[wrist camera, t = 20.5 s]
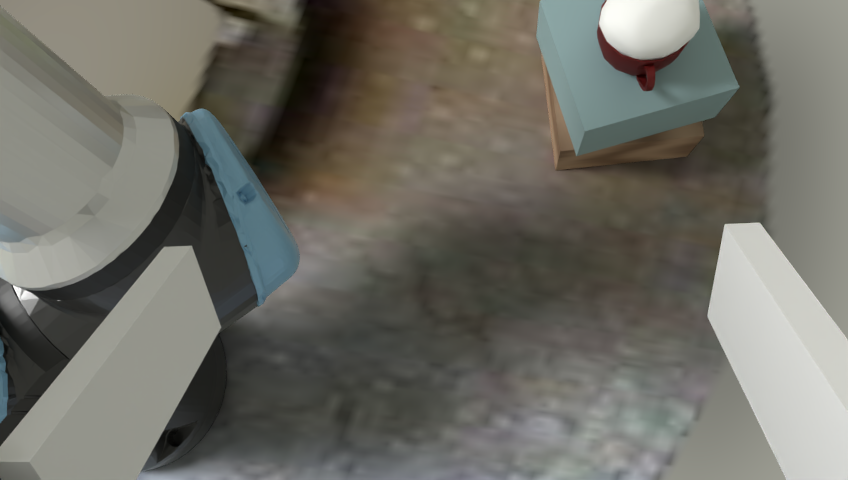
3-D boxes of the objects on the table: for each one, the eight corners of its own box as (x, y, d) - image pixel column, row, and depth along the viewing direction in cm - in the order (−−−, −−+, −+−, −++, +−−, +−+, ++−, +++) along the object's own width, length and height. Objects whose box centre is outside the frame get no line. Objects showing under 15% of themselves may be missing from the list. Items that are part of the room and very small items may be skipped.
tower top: (576, 156, 48) (585, 131, 43) (536, 36, 50) (539, 0, 45) (714, 117, 47) (739, 87, 42) (666, -2, 49) (684, -43, 45)
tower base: (555, 171, 53) (560, 151, 48) (541, 58, 55) (544, 27, 50) (685, 158, 51) (704, 135, 47) (665, 42, 54) (681, 9, 49)
